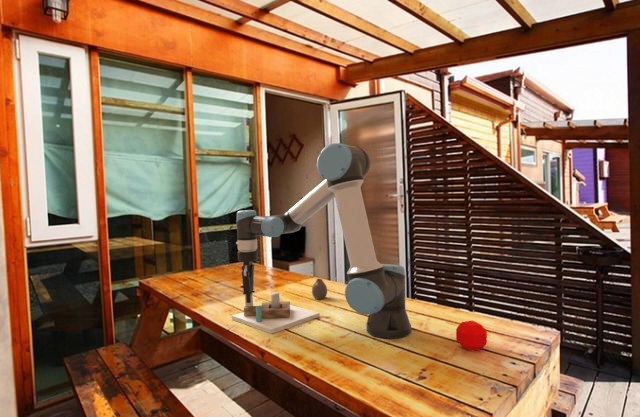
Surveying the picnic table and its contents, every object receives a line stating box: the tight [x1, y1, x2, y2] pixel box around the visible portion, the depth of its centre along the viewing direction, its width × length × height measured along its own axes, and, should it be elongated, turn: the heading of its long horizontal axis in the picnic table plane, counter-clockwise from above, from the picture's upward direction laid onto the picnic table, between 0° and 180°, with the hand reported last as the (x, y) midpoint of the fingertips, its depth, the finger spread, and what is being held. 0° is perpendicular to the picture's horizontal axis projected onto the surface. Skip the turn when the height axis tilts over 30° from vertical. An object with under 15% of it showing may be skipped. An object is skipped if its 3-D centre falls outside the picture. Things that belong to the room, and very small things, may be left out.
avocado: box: [311, 278, 328, 300], centre depth 179 cm, size 7×7×9 cm
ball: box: [455, 320, 488, 352], centre depth 120 cm, size 8×8×8 cm
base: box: [231, 292, 321, 334], centre depth 152 cm, size 24×24×10 cm
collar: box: [243, 301, 291, 319], centre depth 152 cm, size 18×11×3 cm, turn 94°
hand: (249, 310), depth 154 cm, fingers closed
